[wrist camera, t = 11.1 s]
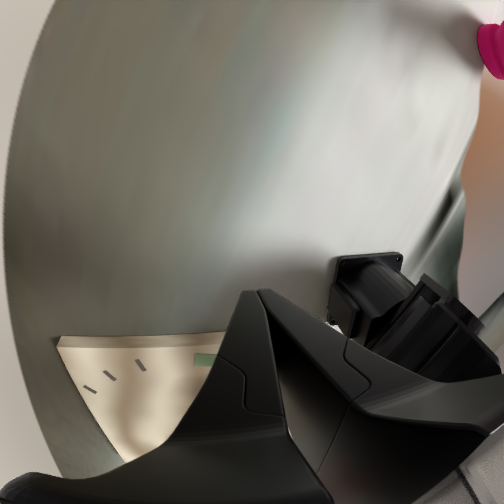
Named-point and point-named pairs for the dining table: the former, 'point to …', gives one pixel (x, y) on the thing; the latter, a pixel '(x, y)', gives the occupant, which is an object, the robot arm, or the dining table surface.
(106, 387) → the dial board
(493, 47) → the pepper mill
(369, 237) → the dining table surface
